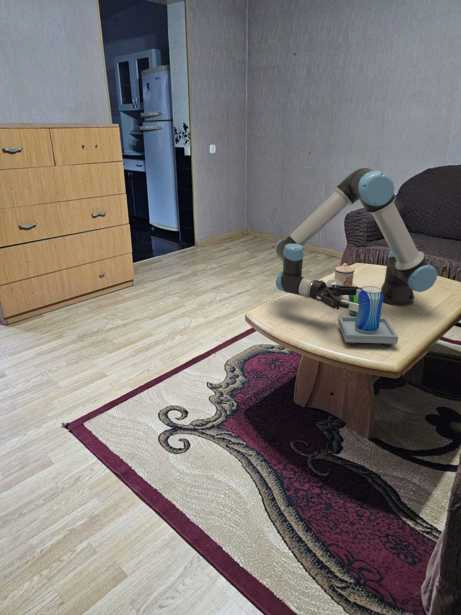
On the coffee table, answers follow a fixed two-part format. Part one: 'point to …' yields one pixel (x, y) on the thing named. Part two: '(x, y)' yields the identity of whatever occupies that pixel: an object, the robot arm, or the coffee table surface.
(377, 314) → the beer can
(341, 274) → the teacup with lid
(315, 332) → the coffee table surface
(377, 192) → the robot arm
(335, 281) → the potion bottle
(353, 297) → the snack cup
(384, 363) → the coffee table surface
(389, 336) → the grey rimmed tray
